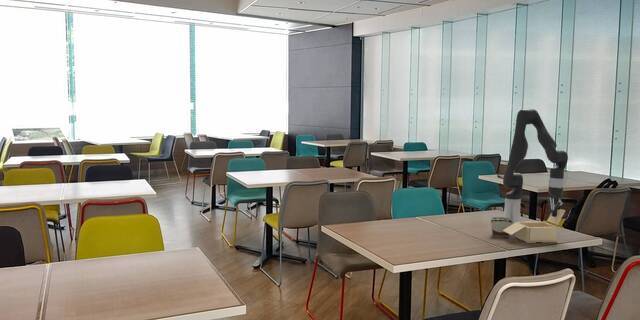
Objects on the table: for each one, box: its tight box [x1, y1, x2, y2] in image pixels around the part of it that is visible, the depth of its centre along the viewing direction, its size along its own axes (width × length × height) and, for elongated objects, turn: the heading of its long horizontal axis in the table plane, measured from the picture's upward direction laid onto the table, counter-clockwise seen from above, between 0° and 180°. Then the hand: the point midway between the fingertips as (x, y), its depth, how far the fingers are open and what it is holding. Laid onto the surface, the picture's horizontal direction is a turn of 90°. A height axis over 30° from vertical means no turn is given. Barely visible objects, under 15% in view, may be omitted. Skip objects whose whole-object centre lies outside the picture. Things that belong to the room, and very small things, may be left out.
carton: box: [514, 221, 559, 244], centre depth 293 cm, size 15×17×8 cm
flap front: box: [503, 222, 525, 236], centre depth 291 cm, size 10×1×9 cm
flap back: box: [546, 208, 566, 226], centre depth 294 cm, size 10×1×9 cm, turn 8°
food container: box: [490, 216, 512, 237], centre depth 303 cm, size 12×6×10 cm, turn 84°
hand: (554, 216), depth 294 cm, fingers closed
